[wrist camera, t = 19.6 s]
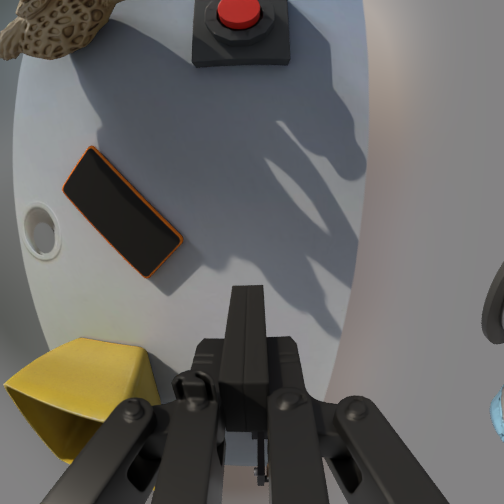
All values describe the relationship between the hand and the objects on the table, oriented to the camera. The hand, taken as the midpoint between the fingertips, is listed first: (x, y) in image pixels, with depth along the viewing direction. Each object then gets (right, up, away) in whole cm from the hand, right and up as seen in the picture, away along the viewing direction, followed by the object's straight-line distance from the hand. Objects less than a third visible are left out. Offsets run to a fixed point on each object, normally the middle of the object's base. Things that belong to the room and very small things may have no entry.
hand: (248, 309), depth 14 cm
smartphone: (-16, +8, +17) cm, 24 cm away
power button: (-1, +26, +6) cm, 27 cm away
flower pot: (-21, -17, +26) cm, 38 cm away
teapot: (-21, +32, +9) cm, 40 cm away
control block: (-1, +28, +10) cm, 29 cm away
